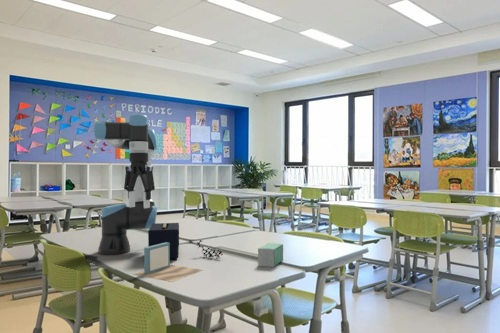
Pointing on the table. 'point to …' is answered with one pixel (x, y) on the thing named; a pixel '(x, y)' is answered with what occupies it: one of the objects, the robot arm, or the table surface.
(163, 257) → the tile
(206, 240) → the table surface
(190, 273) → the mat
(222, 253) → the molecular model
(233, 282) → the table surface
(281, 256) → the box
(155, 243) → the speaker
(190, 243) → the table surface
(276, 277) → the table surface
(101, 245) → the robot arm
